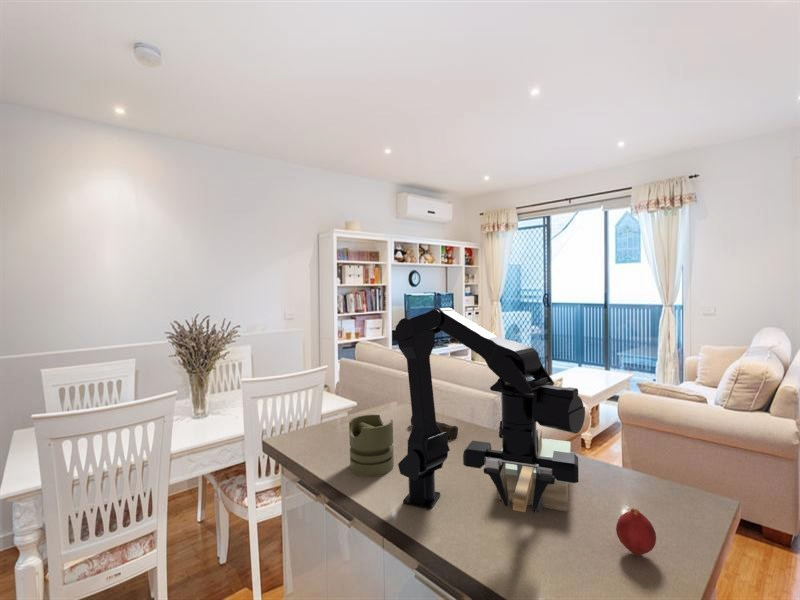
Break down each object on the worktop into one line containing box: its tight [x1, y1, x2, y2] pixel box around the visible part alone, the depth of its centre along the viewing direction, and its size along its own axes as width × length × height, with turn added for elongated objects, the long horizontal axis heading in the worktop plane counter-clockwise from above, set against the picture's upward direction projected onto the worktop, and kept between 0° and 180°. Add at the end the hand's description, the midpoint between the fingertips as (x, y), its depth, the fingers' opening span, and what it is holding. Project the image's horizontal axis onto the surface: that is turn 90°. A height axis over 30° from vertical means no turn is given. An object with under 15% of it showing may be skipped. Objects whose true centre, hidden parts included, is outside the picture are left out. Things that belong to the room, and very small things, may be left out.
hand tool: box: [410, 416, 459, 441], centre depth 131 cm, size 19×4×5 cm, turn 41°
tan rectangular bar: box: [512, 466, 533, 513], centre depth 75 cm, size 14×2×2 cm, turn 156°
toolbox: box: [496, 474, 569, 513], centre depth 93 cm, size 20×14×6 cm
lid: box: [500, 428, 572, 485], centre depth 93 cm, size 21×15×6 cm
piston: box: [348, 414, 395, 478], centre depth 105 cm, size 11×12×11 cm
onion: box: [615, 507, 657, 557], centre depth 68 cm, size 6×6×8 cm
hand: (520, 508), depth 70 cm, fingers open, 4 cm apart
